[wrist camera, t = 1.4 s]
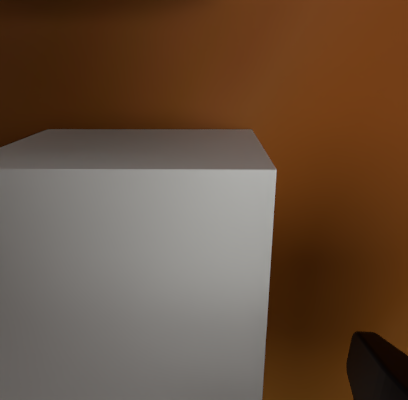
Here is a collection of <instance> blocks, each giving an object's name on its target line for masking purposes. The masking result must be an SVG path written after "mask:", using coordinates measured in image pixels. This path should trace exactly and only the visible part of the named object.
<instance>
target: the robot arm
mask: <svg viewBox="0 0 408 400" xmlns="http://www.w3.org/2000/svg"><path fill="white" fill-rule="evenodd" d="M347 375H348V379H349V382H350V386H351V390H352V394H353V398H354V400H408V356H407V355H406V354H404V353H403V352H402V351H400V350H399V349H397V348H396V347H395V346H393V345H392V344H390V343H389V342H388V341H386V340H385V339H383V338H382V337H380V336H379V335H378V334H376V333H374V332H360V331H357V332H355V333H354V334H353V336H352V339H351V344H350V349H349V354H348V359H347Z"/></svg>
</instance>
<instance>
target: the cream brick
mask: <svg viewBox="0 0 408 400" xmlns="http://www.w3.org/2000/svg"><path fill="white" fill-rule="evenodd" d="M276 172H277V169H276V168H275V166H274V165H273V163H272V161H271V160H270V158H269V156H268V155H267V153H266V152H265V150H264V148H263V147H262V145H261V143H260V142H259V140H258V139H257V137H256V135H255V134H254V132H253V130H252V129H47V130H45V131H42V132H39V133H37V134H34V135H32V136H29V137H26V138H24V139H21V140H18V141H16V142H13V143H11V144H8V145H5V146H3V147H0V400H262V393H263V377H264V361H265V346H266V330H267V314H268V298H269V283H270V267H271V251H272V235H273V219H274V204H275V188H276Z"/></svg>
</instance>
